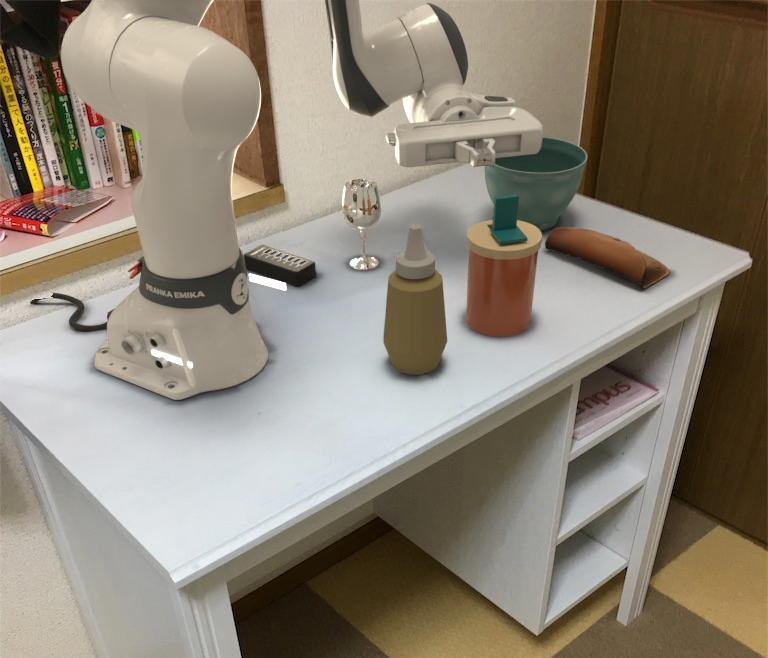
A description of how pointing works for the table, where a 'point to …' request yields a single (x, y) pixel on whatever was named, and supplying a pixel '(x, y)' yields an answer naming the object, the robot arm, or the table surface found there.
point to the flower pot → (539, 180)
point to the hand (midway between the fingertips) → (484, 160)
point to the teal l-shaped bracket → (506, 220)
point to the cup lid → (490, 248)
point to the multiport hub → (280, 265)
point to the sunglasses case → (607, 254)
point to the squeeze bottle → (415, 310)
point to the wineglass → (362, 214)
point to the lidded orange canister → (500, 294)
